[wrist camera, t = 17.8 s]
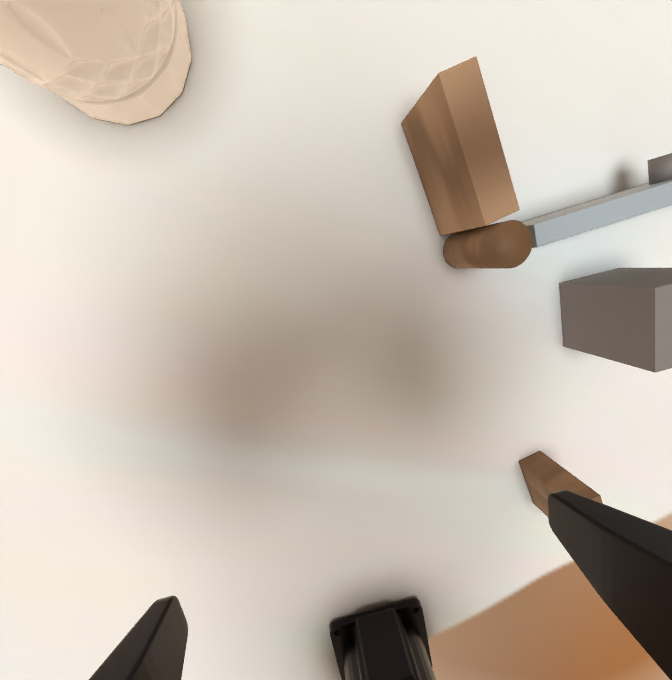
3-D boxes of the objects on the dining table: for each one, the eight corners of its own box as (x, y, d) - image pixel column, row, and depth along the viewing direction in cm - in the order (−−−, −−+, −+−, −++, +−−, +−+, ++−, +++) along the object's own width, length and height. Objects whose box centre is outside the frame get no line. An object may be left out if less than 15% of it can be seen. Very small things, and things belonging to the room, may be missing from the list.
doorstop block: (620, 331, 21) (730, 351, 16) (562, 346, 21) (655, 372, 16) (619, 268, 20) (735, 267, 15) (558, 283, 20) (654, 288, 15)
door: (486, 251, 19) (537, 247, 15) (479, 211, 18) (530, 196, 14) (687, 189, 20) (784, 169, 16) (685, 149, 19) (785, 118, 15)
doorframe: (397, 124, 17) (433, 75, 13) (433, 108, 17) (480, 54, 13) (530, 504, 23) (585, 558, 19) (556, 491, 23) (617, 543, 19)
